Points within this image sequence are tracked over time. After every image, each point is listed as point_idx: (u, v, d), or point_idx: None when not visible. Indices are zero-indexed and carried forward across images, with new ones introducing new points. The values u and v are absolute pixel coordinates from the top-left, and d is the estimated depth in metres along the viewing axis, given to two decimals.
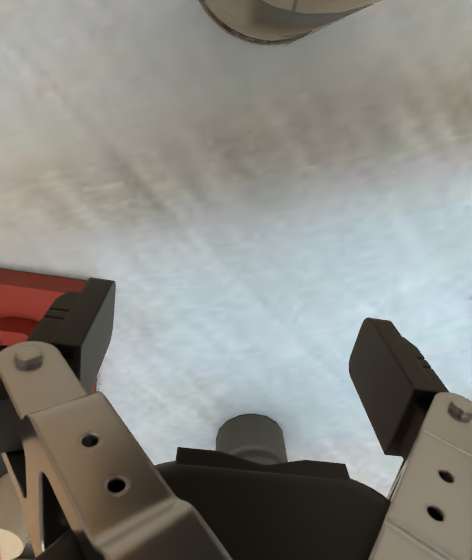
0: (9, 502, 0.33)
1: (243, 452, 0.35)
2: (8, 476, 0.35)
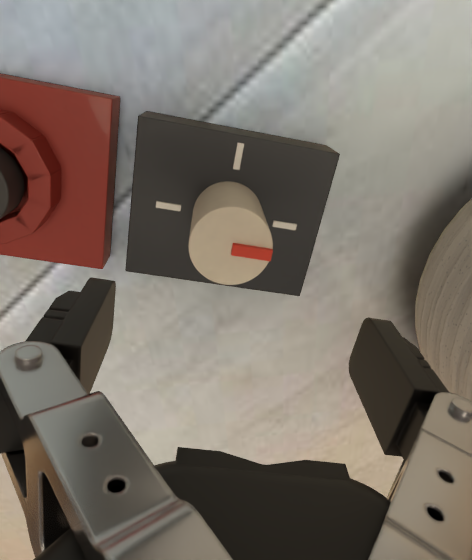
0: (191, 222, 0.22)
1: None
2: None
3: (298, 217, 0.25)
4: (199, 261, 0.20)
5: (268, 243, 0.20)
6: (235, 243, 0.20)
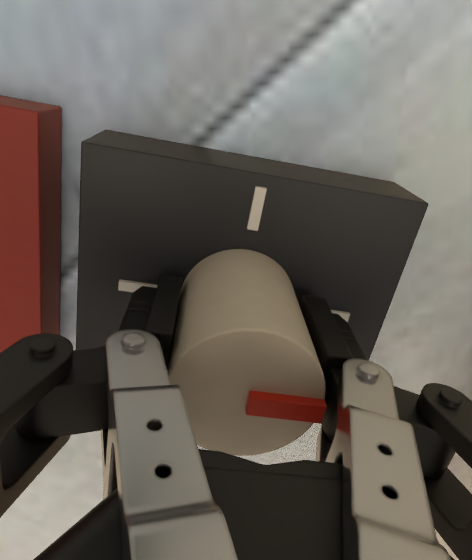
0: (174, 333, 0.12)
1: None
2: None
3: (353, 302, 0.15)
4: None
5: (317, 390, 0.11)
6: (254, 395, 0.10)
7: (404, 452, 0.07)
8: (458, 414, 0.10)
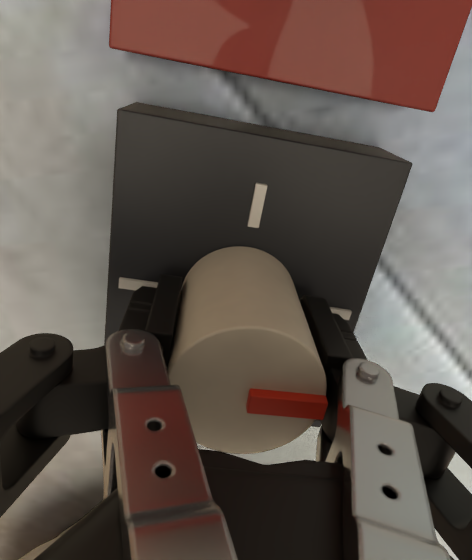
0: None
1: None
2: None
3: None
4: None
5: (318, 387, 0.10)
6: (254, 393, 0.10)
7: (404, 452, 0.07)
8: (458, 414, 0.10)
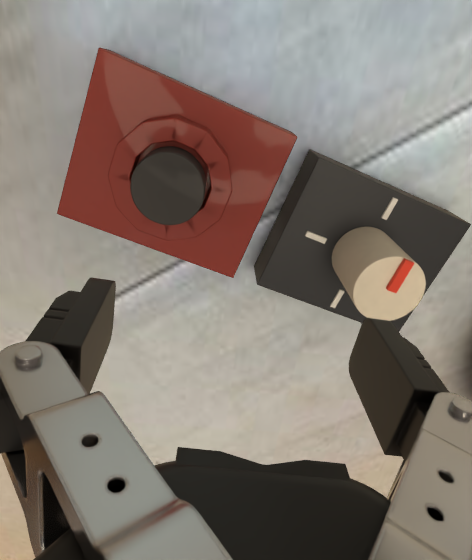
0: None
1: None
2: None
3: None
4: (392, 315, 0.24)
5: (397, 260, 0.23)
6: (387, 287, 0.23)
7: (468, 485, 0.07)
8: None
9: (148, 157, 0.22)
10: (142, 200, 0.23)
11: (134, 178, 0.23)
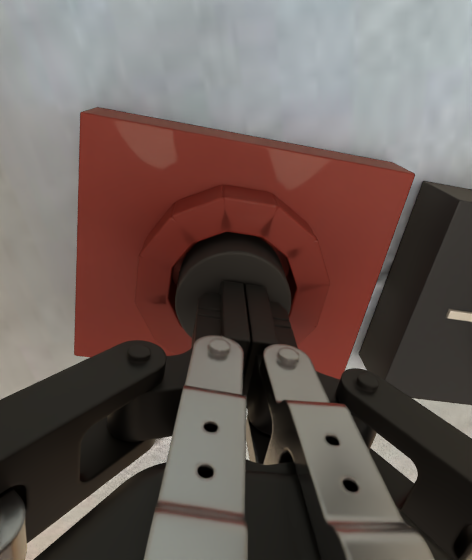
0: None
1: None
2: None
3: None
4: None
5: None
6: None
7: (349, 437, 0.08)
8: (372, 398, 0.10)
9: (195, 266, 0.14)
10: None
11: (180, 300, 0.14)
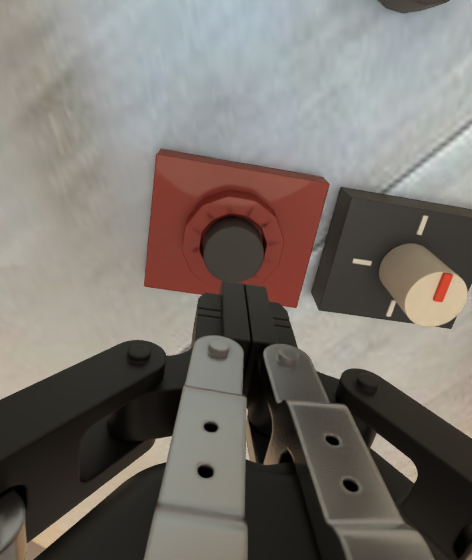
0: None
1: None
2: None
3: (460, 269, 0.32)
4: (443, 320, 0.28)
5: (438, 275, 0.26)
6: (434, 299, 0.27)
7: (349, 437, 0.08)
8: (372, 398, 0.10)
9: (214, 234, 0.27)
10: (215, 267, 0.28)
11: (206, 252, 0.28)
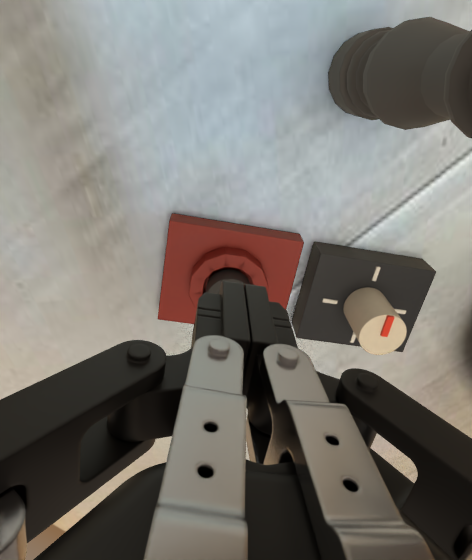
0: None
1: (347, 87, 0.31)
2: None
3: (407, 306, 0.41)
4: (388, 349, 0.36)
5: (383, 317, 0.35)
6: (381, 334, 0.36)
7: (349, 437, 0.08)
8: (372, 398, 0.10)
9: (214, 284, 0.36)
10: None
11: None
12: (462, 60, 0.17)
